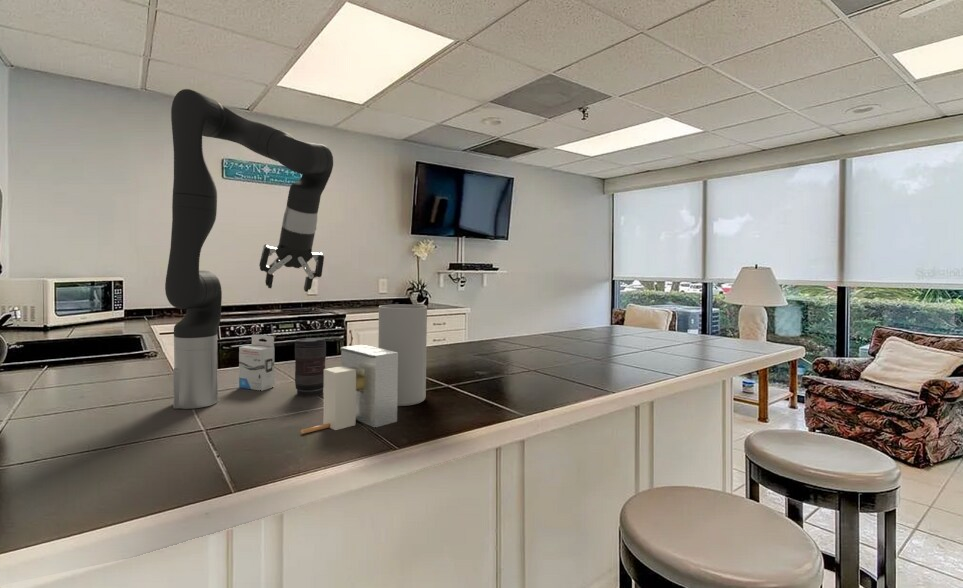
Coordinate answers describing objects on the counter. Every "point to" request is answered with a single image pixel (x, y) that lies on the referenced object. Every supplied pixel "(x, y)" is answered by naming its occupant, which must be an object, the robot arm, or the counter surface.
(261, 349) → the ink box
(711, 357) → the counter surface
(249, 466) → the counter surface
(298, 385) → the dark lidded canister
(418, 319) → the cylinder vase
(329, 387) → the plug
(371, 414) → the block
